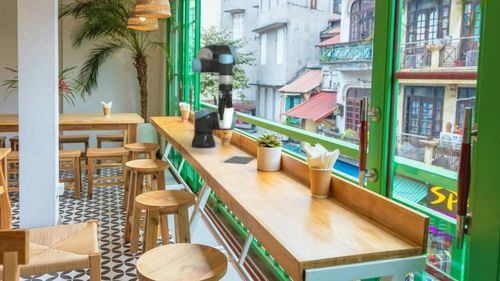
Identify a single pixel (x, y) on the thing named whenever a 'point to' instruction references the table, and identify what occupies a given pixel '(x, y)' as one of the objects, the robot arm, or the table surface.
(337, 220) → the table surface
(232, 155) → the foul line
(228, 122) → the cup
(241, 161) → the mat
